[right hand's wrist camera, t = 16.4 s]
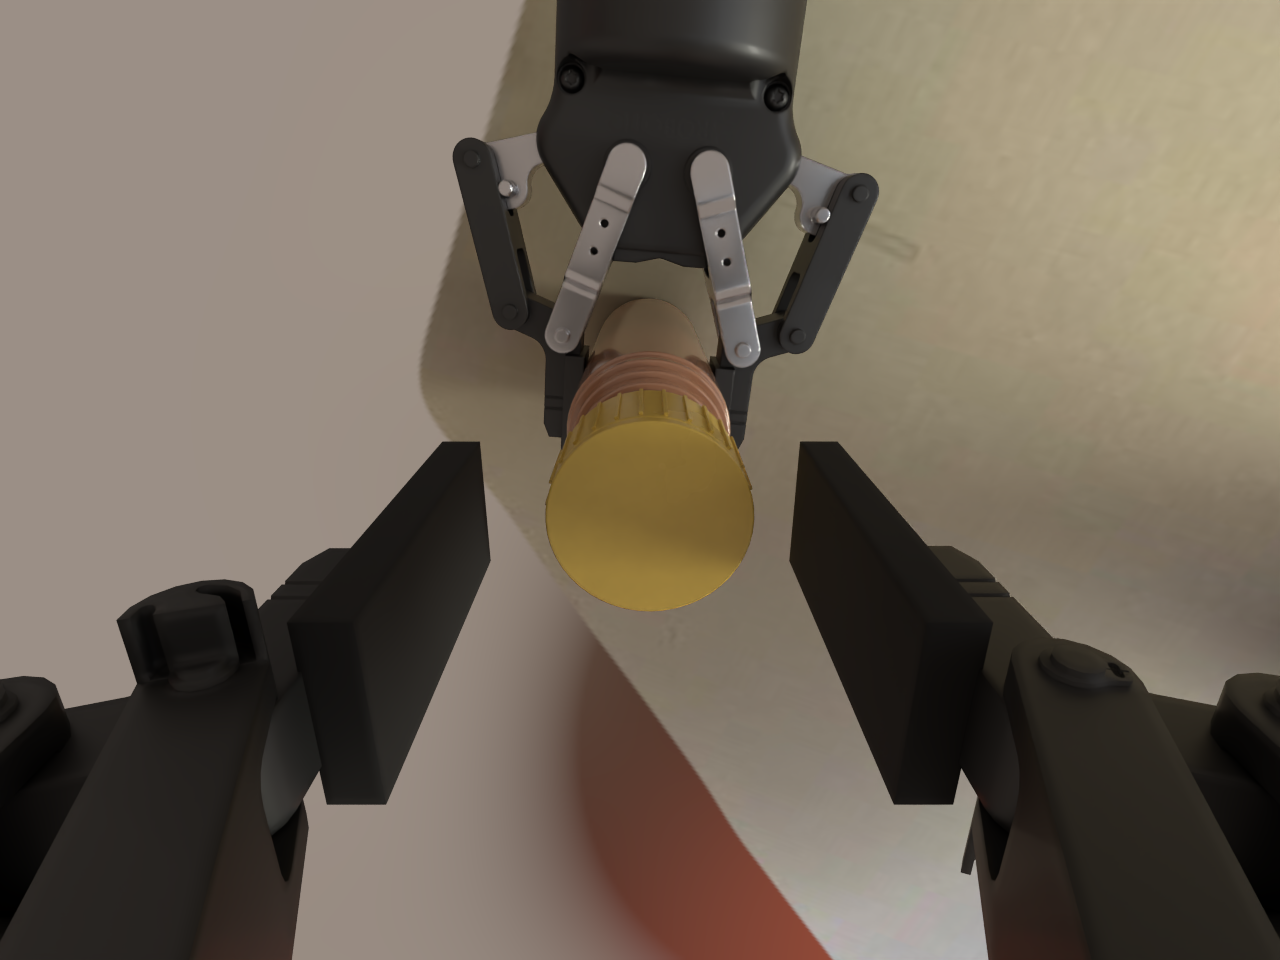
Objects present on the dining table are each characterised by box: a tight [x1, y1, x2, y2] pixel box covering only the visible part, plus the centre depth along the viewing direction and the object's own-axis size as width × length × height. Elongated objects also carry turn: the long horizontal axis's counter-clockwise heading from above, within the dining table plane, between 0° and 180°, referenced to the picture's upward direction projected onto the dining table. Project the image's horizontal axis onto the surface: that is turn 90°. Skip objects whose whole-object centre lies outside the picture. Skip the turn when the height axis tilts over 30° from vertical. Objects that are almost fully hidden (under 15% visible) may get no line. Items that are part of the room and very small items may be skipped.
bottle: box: [567, 298, 731, 437], centre depth 23 cm, size 5×5×18 cm
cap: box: [545, 389, 754, 611], centre depth 15 cm, size 4×4×2 cm
